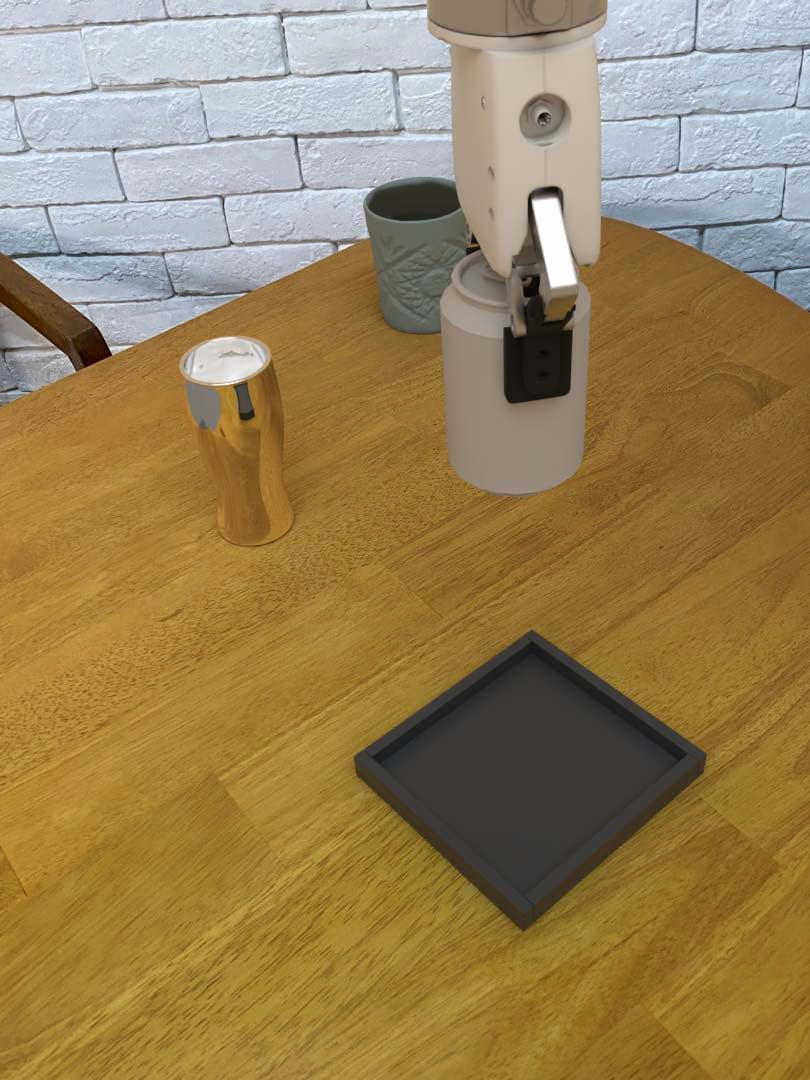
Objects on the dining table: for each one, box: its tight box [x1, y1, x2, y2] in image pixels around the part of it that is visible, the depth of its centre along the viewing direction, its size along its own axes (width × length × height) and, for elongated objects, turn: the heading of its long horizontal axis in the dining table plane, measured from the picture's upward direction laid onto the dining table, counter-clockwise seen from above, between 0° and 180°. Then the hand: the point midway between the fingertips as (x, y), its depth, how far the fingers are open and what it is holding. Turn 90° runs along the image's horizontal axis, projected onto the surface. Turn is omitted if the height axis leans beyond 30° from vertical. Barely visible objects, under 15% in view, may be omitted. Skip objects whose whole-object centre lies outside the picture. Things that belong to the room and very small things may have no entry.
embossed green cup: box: [362, 176, 470, 335], centre depth 109 cm, size 10×10×12 cm
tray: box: [353, 629, 708, 932], centre depth 69 cm, size 16×15×2 cm
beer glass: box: [178, 335, 295, 547], centre depth 85 cm, size 7×7×15 cm
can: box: [440, 249, 592, 499], centre depth 59 cm, size 8×8×12 cm
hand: (516, 351), depth 58 cm, fingers closed on can, 7 cm apart
